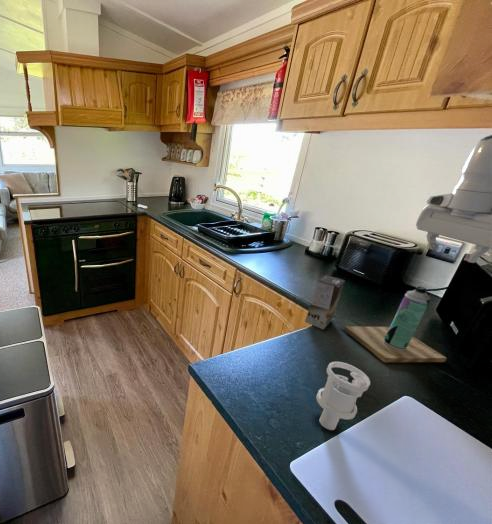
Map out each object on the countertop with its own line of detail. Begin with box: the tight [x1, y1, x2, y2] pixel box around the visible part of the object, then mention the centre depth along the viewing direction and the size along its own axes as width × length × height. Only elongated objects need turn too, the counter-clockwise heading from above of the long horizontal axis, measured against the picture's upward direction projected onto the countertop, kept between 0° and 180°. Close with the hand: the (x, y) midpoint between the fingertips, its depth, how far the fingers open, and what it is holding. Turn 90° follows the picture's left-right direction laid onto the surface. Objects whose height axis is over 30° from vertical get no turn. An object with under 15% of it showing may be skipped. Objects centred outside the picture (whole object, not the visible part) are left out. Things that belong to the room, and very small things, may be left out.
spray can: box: [383, 286, 432, 351], centre depth 86 cm, size 6×6×20 cm
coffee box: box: [304, 274, 346, 330], centre depth 99 cm, size 9×6×16 cm
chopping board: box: [343, 325, 448, 363], centre depth 92 cm, size 20×16×2 cm
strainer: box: [315, 361, 371, 431], centre depth 60 cm, size 7×7×15 cm
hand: (449, 255), depth 77 cm, fingers open, 8 cm apart
